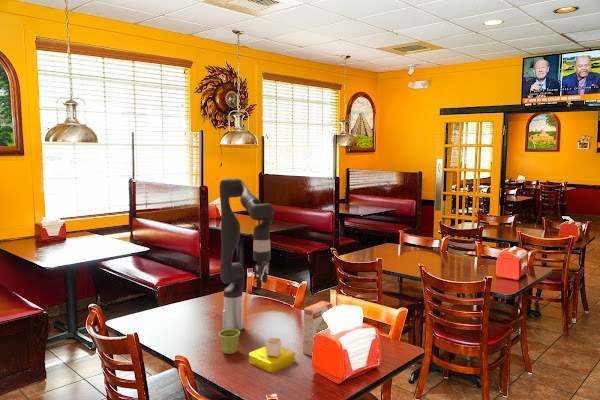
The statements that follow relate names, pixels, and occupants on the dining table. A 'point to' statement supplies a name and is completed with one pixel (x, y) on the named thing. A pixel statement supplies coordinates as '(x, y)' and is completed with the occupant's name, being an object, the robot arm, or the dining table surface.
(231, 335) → the plant pot
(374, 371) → the dining table surface
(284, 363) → the element tile
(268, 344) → the cream brown block
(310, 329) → the cracker box
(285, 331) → the dining table surface
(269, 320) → the dining table surface
